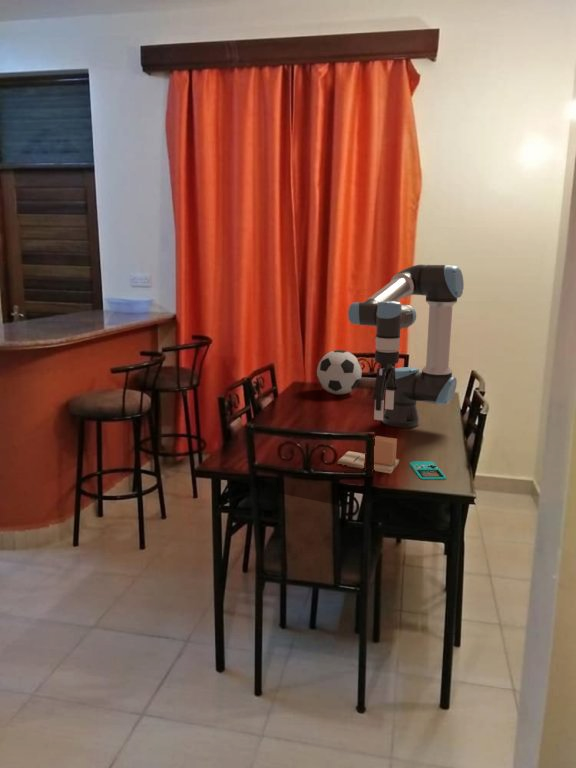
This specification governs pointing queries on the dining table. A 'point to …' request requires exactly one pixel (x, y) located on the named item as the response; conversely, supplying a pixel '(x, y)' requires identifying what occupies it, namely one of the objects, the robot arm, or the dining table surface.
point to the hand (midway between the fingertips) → (383, 414)
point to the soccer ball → (339, 372)
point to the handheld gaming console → (427, 466)
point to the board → (359, 459)
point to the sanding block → (385, 451)
